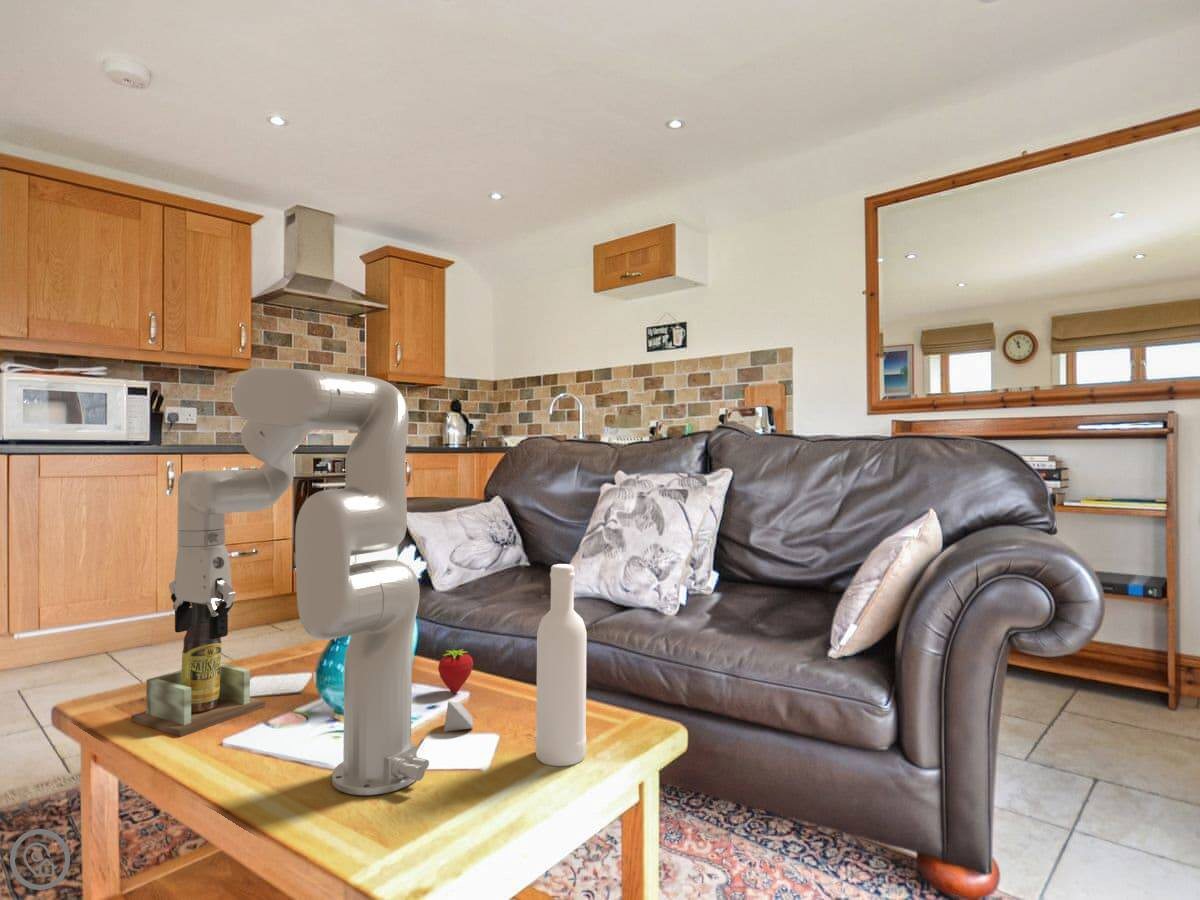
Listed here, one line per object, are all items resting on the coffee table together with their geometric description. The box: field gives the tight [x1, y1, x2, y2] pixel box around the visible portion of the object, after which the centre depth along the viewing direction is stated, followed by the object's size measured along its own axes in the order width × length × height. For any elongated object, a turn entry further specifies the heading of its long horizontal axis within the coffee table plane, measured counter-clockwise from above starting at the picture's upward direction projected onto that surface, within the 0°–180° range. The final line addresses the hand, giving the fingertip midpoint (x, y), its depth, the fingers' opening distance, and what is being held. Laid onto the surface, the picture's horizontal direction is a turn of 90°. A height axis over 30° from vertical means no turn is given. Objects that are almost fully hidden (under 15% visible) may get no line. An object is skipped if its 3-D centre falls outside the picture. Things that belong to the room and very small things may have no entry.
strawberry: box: [437, 647, 474, 694], centre depth 142 cm, size 6×8×10 cm
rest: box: [130, 663, 266, 738], centre depth 130 cm, size 14×16×7 cm
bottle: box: [535, 563, 588, 767], centre depth 113 cm, size 8×8×30 cm
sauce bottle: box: [181, 603, 223, 713], centre depth 130 cm, size 6×6×20 cm
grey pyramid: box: [443, 700, 474, 733], centre depth 124 cm, size 6×6×5 cm
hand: (201, 634), depth 130 cm, fingers open, 9 cm apart
